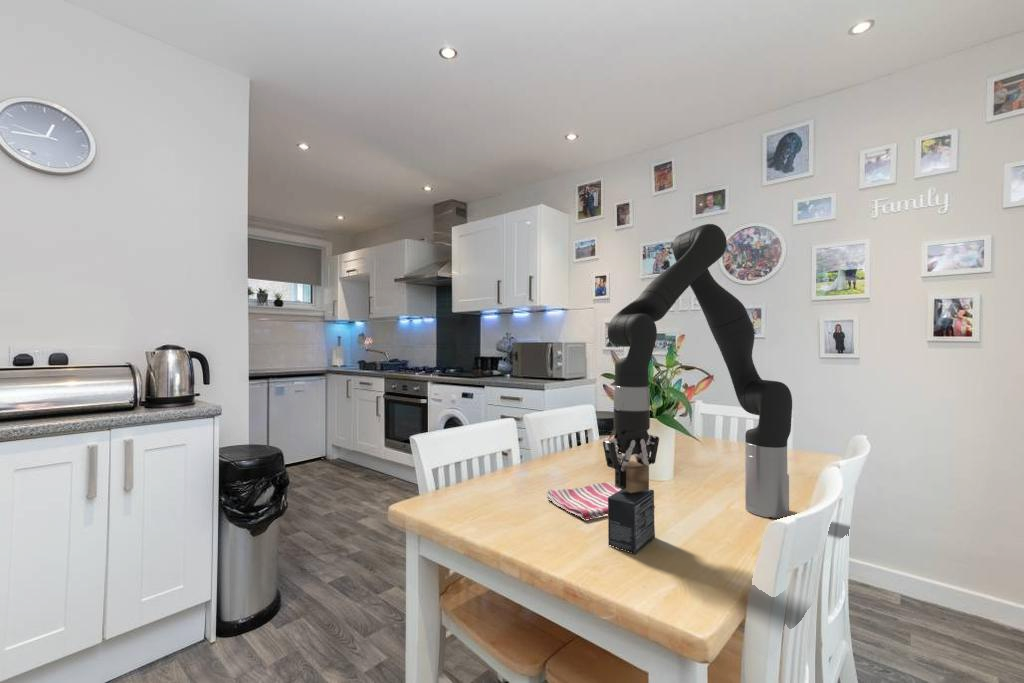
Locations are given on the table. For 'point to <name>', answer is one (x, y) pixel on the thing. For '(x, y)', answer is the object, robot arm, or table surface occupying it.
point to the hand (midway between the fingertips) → (631, 485)
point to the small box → (631, 519)
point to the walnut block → (636, 477)
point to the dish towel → (585, 499)
